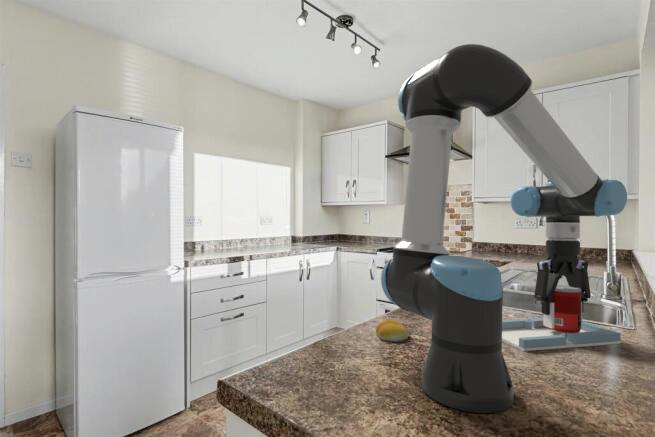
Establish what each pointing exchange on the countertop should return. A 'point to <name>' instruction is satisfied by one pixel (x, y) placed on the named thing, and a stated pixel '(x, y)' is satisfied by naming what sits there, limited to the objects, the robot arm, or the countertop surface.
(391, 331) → the bread roll
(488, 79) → the robot arm
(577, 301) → the canned food
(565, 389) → the countertop surface
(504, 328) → the track
